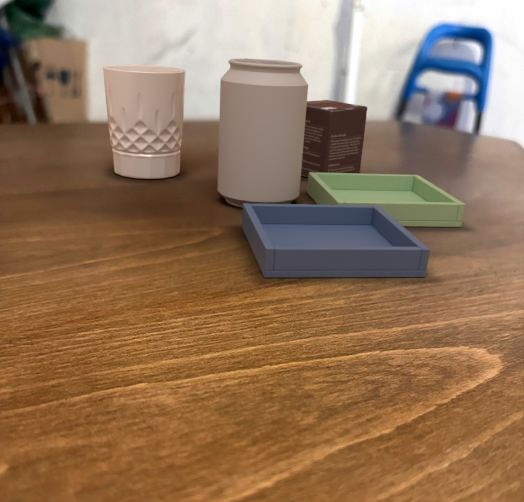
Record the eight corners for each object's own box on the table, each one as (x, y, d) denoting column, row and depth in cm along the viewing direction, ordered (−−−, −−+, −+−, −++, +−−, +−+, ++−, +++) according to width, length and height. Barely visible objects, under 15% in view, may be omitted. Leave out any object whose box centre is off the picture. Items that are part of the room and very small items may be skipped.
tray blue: (375, 229, 55) (378, 205, 54) (425, 277, 46) (430, 249, 45) (241, 227, 53) (242, 203, 53) (264, 277, 44) (265, 248, 43)
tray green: (415, 194, 67) (418, 174, 66) (461, 227, 57) (466, 204, 56) (306, 192, 65) (308, 172, 64) (335, 226, 56) (338, 202, 55)
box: (320, 166, 77) (327, 99, 74) (361, 177, 73) (369, 106, 70) (283, 171, 73) (288, 101, 70) (323, 183, 69) (330, 109, 66)
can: (306, 212, 59) (319, 65, 53) (221, 211, 57) (226, 60, 52) (289, 191, 65) (299, 58, 60) (213, 190, 64) (216, 54, 58)
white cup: (125, 161, 73) (122, 63, 69) (194, 168, 72) (195, 68, 68) (95, 176, 66) (89, 67, 62) (170, 184, 65) (170, 74, 61)
